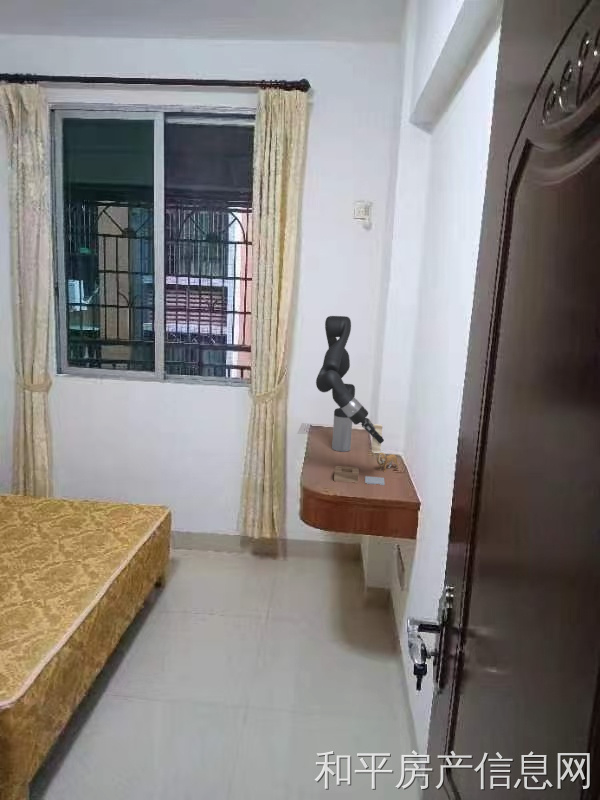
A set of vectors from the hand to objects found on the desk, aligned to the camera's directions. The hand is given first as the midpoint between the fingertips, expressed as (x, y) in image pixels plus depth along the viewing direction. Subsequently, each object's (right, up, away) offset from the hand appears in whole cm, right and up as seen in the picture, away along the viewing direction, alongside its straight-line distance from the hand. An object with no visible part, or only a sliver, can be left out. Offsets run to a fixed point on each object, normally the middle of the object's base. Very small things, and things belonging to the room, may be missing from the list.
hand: (381, 440), depth 247 cm
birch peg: (-2, -4, +1) cm, 5 cm away
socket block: (-14, -16, +6) cm, 22 cm away
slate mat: (-2, -17, +3) cm, 18 cm away
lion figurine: (+5, -15, +20) cm, 25 cm away
